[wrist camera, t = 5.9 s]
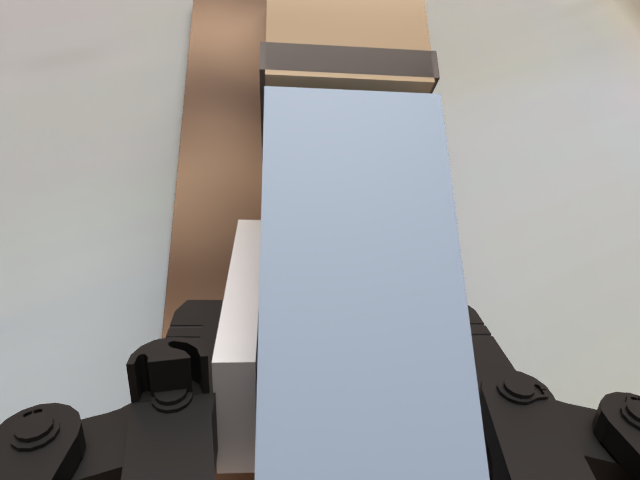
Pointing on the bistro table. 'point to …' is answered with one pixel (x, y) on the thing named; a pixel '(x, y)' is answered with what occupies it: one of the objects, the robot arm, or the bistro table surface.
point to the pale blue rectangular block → (362, 294)
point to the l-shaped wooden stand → (248, 110)
